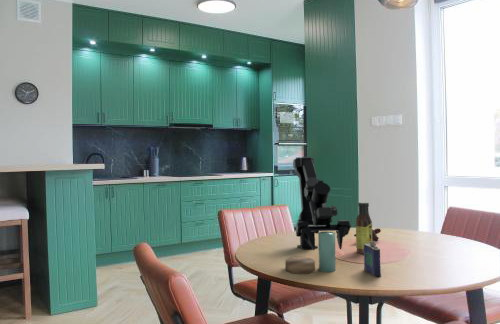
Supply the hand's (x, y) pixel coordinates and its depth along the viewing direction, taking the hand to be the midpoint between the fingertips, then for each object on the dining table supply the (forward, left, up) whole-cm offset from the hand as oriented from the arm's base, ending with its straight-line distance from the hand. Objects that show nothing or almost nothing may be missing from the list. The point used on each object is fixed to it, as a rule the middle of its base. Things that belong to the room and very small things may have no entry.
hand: (327, 249), depth 135 cm
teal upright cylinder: (-1, 0, -7) cm, 7 cm away
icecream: (-27, +41, -7) cm, 50 cm away
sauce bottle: (-13, +28, -7) cm, 32 cm away
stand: (-5, -8, -7) cm, 12 cm away
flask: (+10, +11, -7) cm, 16 cm away
